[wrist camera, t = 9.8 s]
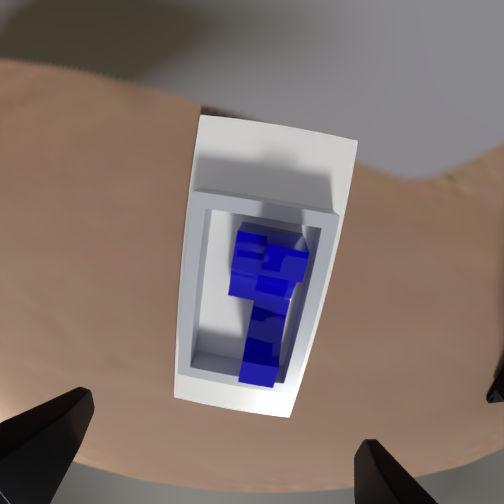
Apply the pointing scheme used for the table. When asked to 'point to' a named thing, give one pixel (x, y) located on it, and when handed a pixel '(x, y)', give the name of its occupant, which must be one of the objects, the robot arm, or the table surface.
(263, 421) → the table surface
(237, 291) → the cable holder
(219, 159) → the desk organizer
